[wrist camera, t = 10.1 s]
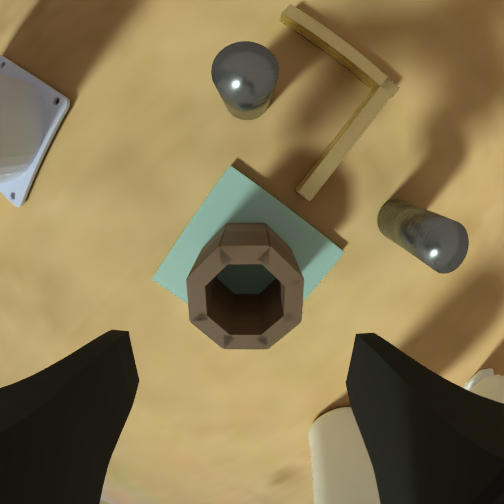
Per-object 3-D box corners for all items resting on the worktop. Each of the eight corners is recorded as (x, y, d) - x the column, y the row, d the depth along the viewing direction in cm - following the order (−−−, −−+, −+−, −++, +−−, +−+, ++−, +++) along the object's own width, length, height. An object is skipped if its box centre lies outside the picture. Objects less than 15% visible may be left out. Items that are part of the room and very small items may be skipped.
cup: (484, 346, 21) (535, 401, 13) (521, 371, 22) (560, 414, 15) (435, 406, 23) (471, 468, 15) (480, 420, 24) (511, 467, 16)
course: (197, 119, 16) (170, 102, 10) (343, -40, 13) (371, -90, 7) (382, 262, 18) (428, 304, 13) (493, 99, 15) (552, 93, 9)
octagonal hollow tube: (204, 305, 19) (192, 348, 14) (200, 222, 17) (183, 245, 13) (289, 305, 19) (299, 348, 14) (292, 222, 17) (306, 245, 13)
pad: (154, 276, 19) (152, 279, 18) (230, 165, 17) (230, 165, 16) (259, 344, 20) (260, 349, 20) (342, 249, 18) (344, 252, 18)
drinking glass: (372, 385, 21) (442, 553, 7) (380, 433, 23) (429, 569, 9) (288, 413, 22) (309, 594, 8) (308, 456, 24) (330, 600, 10)
